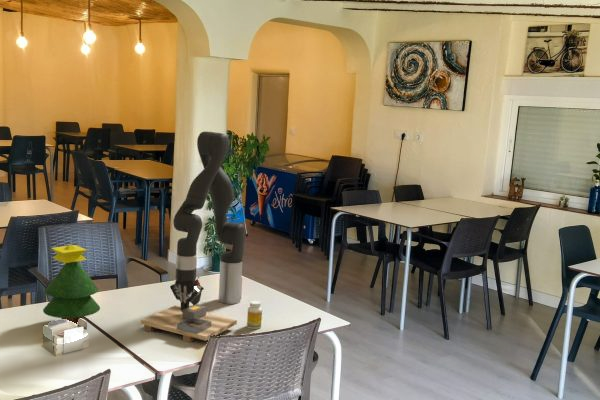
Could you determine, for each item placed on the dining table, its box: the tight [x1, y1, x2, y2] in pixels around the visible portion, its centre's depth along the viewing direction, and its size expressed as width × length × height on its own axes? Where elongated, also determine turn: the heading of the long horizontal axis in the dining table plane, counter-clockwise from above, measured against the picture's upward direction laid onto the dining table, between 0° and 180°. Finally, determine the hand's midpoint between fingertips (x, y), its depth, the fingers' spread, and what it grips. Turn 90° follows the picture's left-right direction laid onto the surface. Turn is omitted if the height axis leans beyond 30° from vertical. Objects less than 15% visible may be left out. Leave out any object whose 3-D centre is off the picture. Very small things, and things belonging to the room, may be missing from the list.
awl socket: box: [177, 317, 211, 334], centre depth 225 cm, size 8×8×2 cm
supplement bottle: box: [246, 300, 263, 330], centre depth 239 cm, size 5×5×10 cm
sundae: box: [190, 276, 205, 306], centre depth 250 cm, size 7×7×15 cm
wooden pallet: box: [140, 305, 238, 343], centre depth 233 cm, size 20×28×4 cm
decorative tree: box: [42, 243, 101, 324], centre depth 227 cm, size 19×19×30 cm
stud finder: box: [182, 304, 207, 319], centre depth 236 cm, size 8×5×3 cm, turn 154°
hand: (184, 311), depth 238 cm, fingers closed
